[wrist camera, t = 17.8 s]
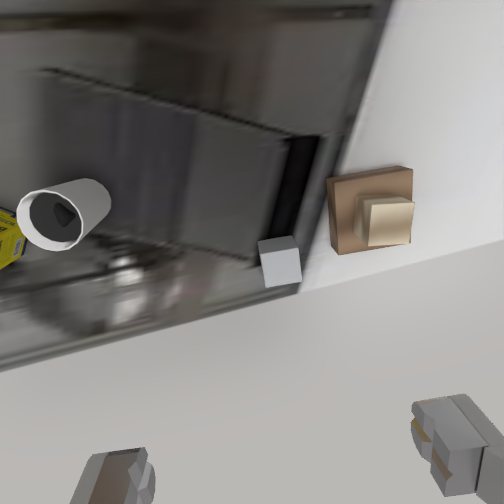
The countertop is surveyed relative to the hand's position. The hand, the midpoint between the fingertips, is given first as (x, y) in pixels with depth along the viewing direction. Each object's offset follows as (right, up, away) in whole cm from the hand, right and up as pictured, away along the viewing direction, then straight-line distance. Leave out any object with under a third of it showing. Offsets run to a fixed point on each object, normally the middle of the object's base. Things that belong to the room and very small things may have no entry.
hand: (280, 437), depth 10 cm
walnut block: (+15, +12, +36) cm, 41 cm away
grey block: (+3, +5, +38) cm, 38 cm away
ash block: (+15, +11, +33) cm, 37 cm away
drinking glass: (-23, +13, +33) cm, 42 cm away
